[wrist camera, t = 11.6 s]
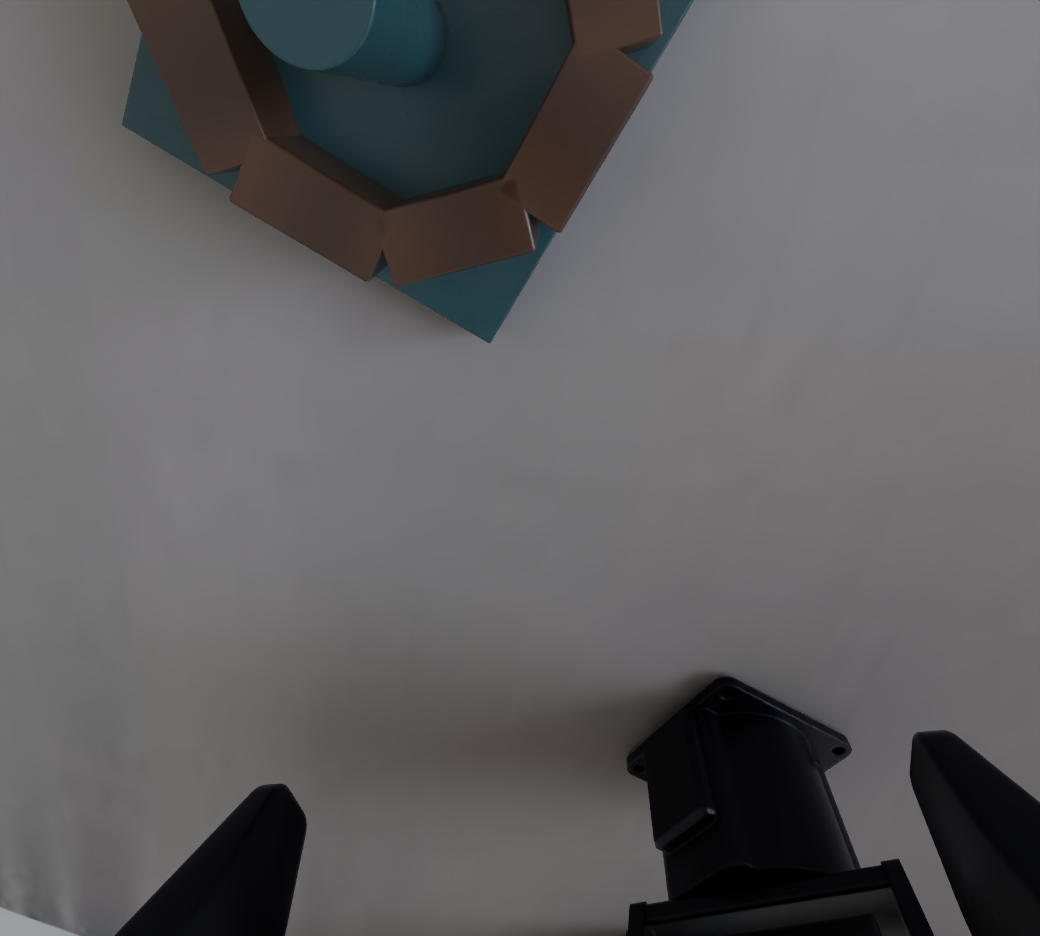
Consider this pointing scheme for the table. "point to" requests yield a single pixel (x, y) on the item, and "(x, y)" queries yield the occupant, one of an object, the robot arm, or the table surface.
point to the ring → (358, 199)
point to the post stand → (408, 105)
